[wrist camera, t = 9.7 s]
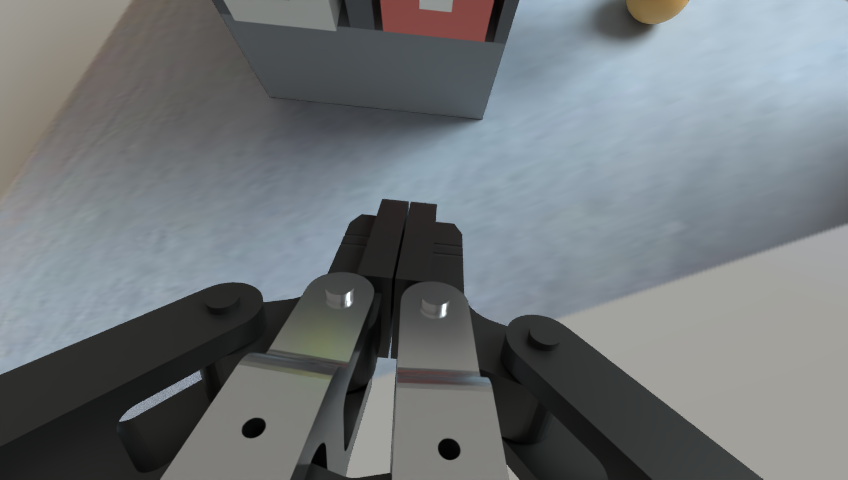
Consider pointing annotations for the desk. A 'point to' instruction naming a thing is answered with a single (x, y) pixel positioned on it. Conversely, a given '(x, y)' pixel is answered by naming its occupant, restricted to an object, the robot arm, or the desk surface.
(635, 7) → the figurine
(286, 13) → the grey button
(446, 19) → the red button
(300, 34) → the grey drawer cabinet
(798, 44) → the desk surface
